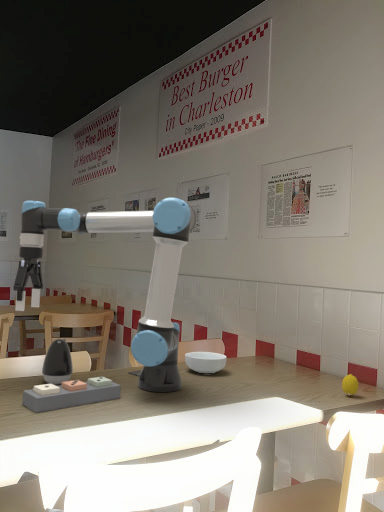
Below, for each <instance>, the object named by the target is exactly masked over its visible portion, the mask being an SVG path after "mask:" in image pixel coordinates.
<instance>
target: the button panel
mask: <svg viewBox="0 0 384 512" xmlns="http://www.w3.org/2000/svg"><path fill="white" fill-rule="evenodd" d="M83 382H84V383H86V384H87V382H88V381H83ZM56 386H57V387H59V388H60V393H58V394H52V395H45V396H40V395H38V394H37V393H35V392H33V388H32V389H24V390H23V392H22V404H21V405H22V406H24V407H26V408H27V409H29V410H31V411H32V412H34V413H36V414H37V413H44V412H49V411H53V410H54V411H55V410H59V409H60V410H61V409H64V408H71V407H76V406H83V405H88V404H93V403H100V402H105V401H112V400H115V399H121V388H122V385H121V384H118V383H116V382H114V381H112V385H110V386H104V387H97V388H96V387H94V386H91V385H89V384H87V389H84V390H78V391H71V392H70V391H68V390H65V389H63V388H61V387H62V384H60V385H56Z"/></svg>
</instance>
